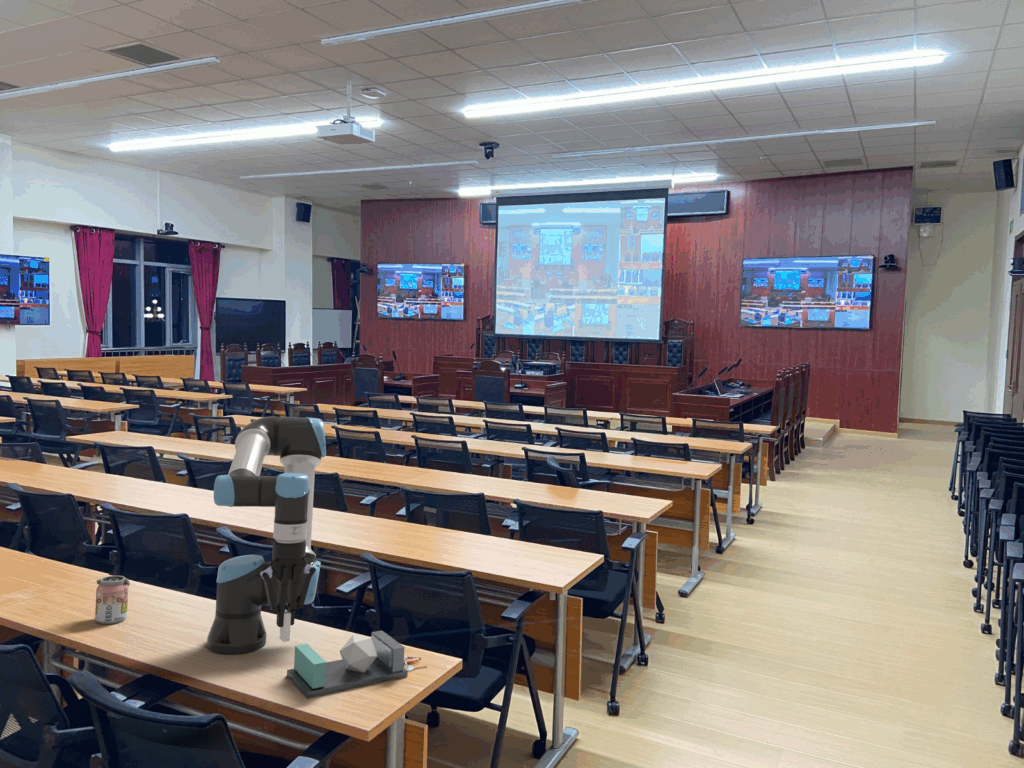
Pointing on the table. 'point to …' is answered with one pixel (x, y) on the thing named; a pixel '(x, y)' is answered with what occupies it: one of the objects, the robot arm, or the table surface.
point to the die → (358, 653)
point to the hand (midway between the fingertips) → (284, 639)
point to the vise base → (342, 679)
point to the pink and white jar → (111, 599)
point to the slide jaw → (310, 665)
